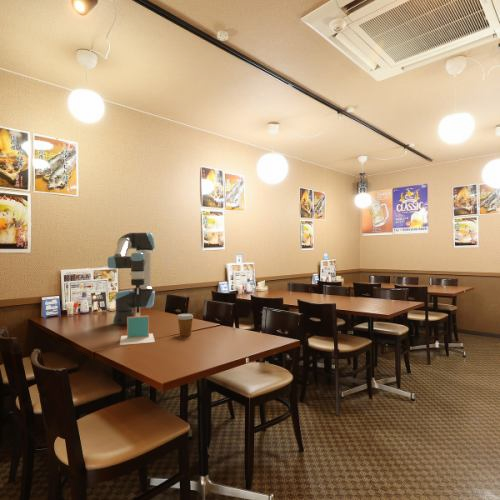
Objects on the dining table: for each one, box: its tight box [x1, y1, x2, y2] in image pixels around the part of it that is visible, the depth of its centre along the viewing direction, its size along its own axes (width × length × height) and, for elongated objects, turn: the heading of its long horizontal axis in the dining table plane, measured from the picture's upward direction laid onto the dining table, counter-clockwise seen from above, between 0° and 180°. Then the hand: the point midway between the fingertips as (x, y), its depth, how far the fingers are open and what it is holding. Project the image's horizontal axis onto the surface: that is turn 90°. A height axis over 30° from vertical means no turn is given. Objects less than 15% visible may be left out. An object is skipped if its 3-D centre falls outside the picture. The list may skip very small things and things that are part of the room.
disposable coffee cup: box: [177, 313, 194, 337], centre depth 210 cm, size 10×10×12 cm
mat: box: [119, 332, 155, 346], centre depth 199 cm, size 22×18×1 cm
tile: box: [126, 315, 150, 338], centre depth 203 cm, size 2×12×12 cm, turn 108°
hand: (137, 317), depth 209 cm, fingers closed
